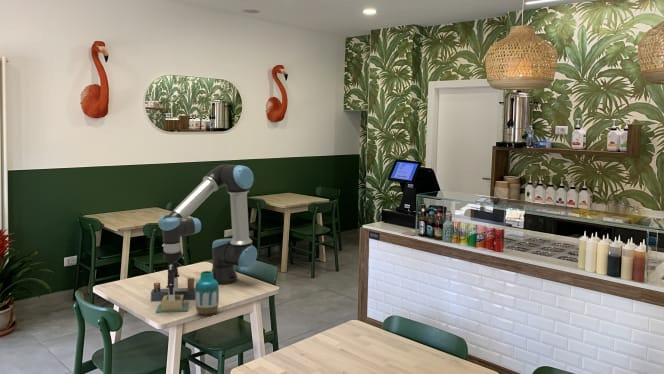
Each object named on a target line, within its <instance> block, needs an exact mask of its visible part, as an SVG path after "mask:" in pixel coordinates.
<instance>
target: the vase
mask: <svg viewBox="0 0 664 374" xmlns="http://www.w3.org/2000/svg"><path fill="white" fill-rule="evenodd" d="M219 286H220V285H219V284H218V282H217V281H216V280H215V279H214V278H213V272H212V270H203V271H200V279H199V280H197V281H196V283H195V285H194V288H195V300H194V303H195V308H196V311H197V312H198V313H199V314H201V315H210V314H213V313H215V312H216V311H217V310H218V308H219V304H220V303H219V302H220V288H219Z"/></svg>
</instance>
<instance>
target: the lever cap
mask: <svg viewBox="0 0 664 374" xmlns="http://www.w3.org/2000/svg"><path fill="white" fill-rule="evenodd" d="M184 301H185V300H184V295H175V301H169V298H168V295H164V296H163V299H162V301H160V302H161V305H162V311H171V310H182V308H183V305H184V303H185V302H184Z"/></svg>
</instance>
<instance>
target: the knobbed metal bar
mask: <svg viewBox="0 0 664 374" xmlns="http://www.w3.org/2000/svg"><path fill="white" fill-rule="evenodd" d="M186 282H187V287H178V291H175V295H184V301H193V300H194V301H195V278H194V277H187V281H186ZM164 295H168V288H161V282H154V283H153V289H151V291H150V301H151V302H161V301H162V299H163V296H164Z"/></svg>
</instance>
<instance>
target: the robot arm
mask: <svg viewBox="0 0 664 374" xmlns="http://www.w3.org/2000/svg"><path fill="white" fill-rule="evenodd" d="M254 177H255V176H254V174H253V170H251V169H250V168H249V167H248V166H245V165H241V164H240V165H238V164H219V165H218V166H216V167H214V168H213V169H211V170H210V171H209V172H207V174H205V175H204V176H203V178H202V181H201V183H199V184H198V185H197V186H196V187H195V188H194V189H193V190H192V191H191V192H190V193H189V194H188V195H187V196H186V197H185V198H184V199H183V200H182V201H181V202H180V203H179V204H178V205H177V206H175V208H174V209H173V210H172V211H171V212H170V213H169V214H165V215H162V216H159V219H158V221H157V224H158V227H159V229H160V230H162V243H163V244H162V245H161V247H163V260H164V261H165V262H168V263H167V285H166V286H165V287H166V288H165V289H168V298H169V301H175V291H178V288H179V278H180V274H179V270H178V261H180V260H181V259H182V257H181V238H183V237H186V236H191V235H195V234H198V233H200V231H202V230H201V229H202V223H201V220H200V219H199V218H197V217H191V218H189V217H190V216H191V215H192V214H193V213H194V212H195V211H196V210H197V208H199V206H201V204H202V203H204V202H205V200H206V199H207V198H209V196H210V195H211V194H212V193H214V192H217V191H218V190H219V189H221V188H222V187H226V193H227V194H229V195H230V196H229V198H230V215H231V216H230V217H231V233H232V234H231V235H232V238H231V237H230V238H228V237H227V238H220V239H216V240H214V241H213V242H212V247H211V249H212V250H211V253H212V254H211V255H212V257H211V258H212V259H211V260H212V268H211V271H212V272H213V278H214V279H215V280H216V281H217V282H218V285H230V284H233V283H236V282H237V281H238V274H237V270H236V268H235V266H236V267H237V266H238V267H241V268H249V267H252V266H253V264H254V263H255V262H256V260H257V257H258V249H257V248H256V247H255V246H254V245H253V240H252V239H251V238H250V233H249V231H250V230H249V228H250V227H249V211H248V194H249V192H250V188H251V187H252V186H253V183H254V181H255V178H254Z"/></svg>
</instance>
